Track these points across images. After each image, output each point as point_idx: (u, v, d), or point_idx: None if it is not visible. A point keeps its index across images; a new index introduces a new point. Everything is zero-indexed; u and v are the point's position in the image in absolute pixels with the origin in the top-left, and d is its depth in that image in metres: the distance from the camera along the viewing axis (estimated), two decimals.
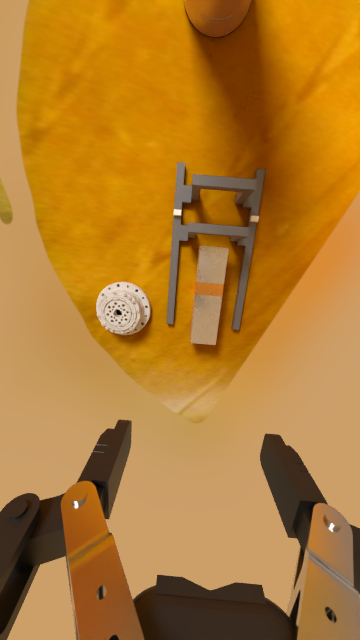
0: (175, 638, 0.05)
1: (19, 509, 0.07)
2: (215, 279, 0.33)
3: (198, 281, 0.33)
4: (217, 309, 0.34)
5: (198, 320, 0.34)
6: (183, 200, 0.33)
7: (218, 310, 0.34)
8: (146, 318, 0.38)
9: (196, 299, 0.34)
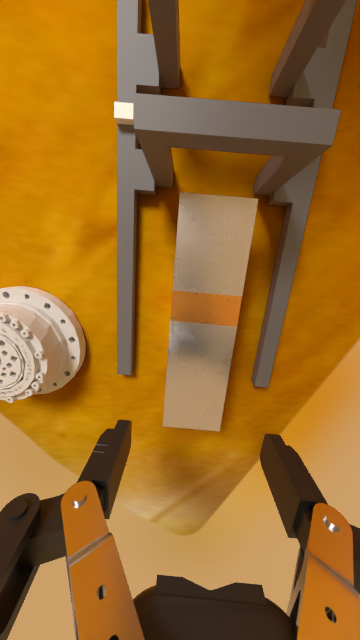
0: (175, 638, 0.05)
1: (19, 509, 0.07)
2: (220, 285, 0.13)
3: (177, 289, 0.13)
4: (224, 357, 0.14)
5: (179, 379, 0.15)
6: (139, 80, 0.13)
7: (227, 358, 0.14)
8: (74, 363, 0.18)
9: (173, 332, 0.14)
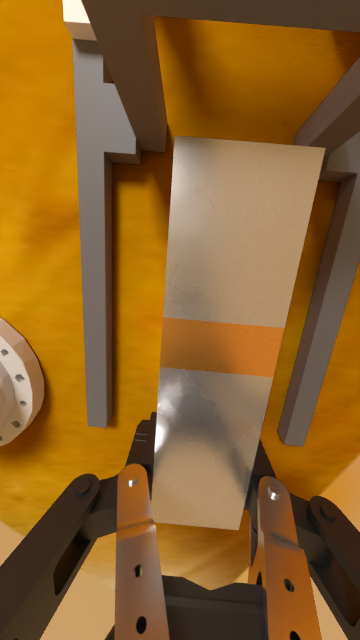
0: (175, 638, 0.05)
1: (83, 487, 0.08)
2: (247, 308, 0.07)
3: (171, 315, 0.07)
4: (250, 425, 0.08)
5: (175, 455, 0.09)
6: None
7: (254, 426, 0.09)
8: (25, 410, 0.13)
9: (165, 386, 0.08)
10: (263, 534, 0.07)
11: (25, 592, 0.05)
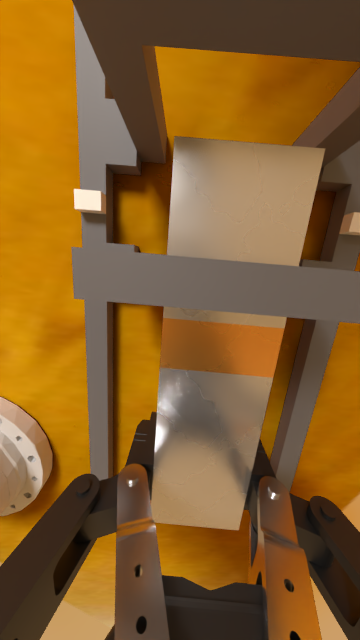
0: (175, 638, 0.05)
1: (83, 487, 0.08)
2: None
3: (171, 315, 0.07)
4: (250, 425, 0.09)
5: (175, 456, 0.09)
6: (109, 158, 0.09)
7: (254, 427, 0.09)
8: (36, 484, 0.14)
9: (165, 386, 0.08)
10: (263, 534, 0.07)
11: (25, 592, 0.05)
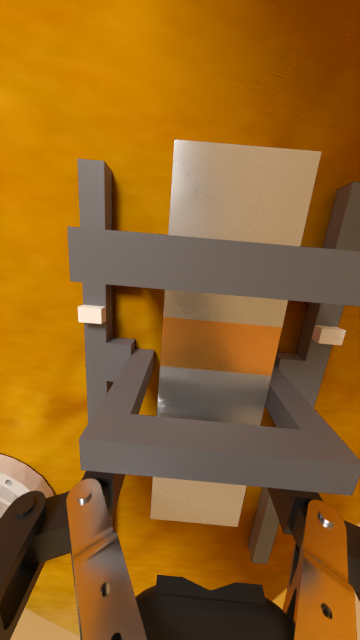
0: (175, 638, 0.05)
1: (25, 506, 0.07)
2: (245, 308, 0.07)
3: (171, 315, 0.08)
4: (248, 422, 0.09)
5: None
6: None
7: (252, 424, 0.09)
8: None
9: (165, 384, 0.08)
10: (304, 552, 0.06)
11: None
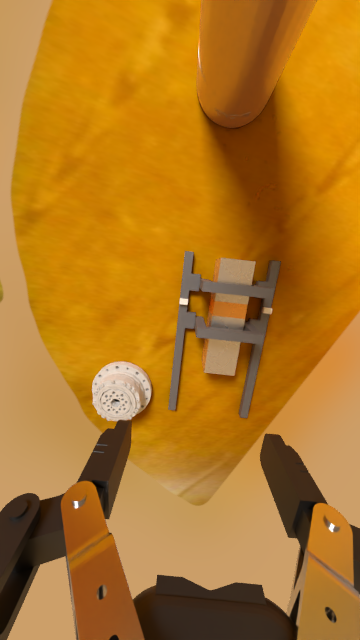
0: (175, 638, 0.05)
1: (19, 509, 0.07)
2: (237, 298, 0.27)
3: (217, 300, 0.27)
4: None
5: (214, 345, 0.29)
6: (190, 289, 0.30)
7: None
8: (147, 401, 0.35)
9: (213, 321, 0.28)
10: (308, 555, 0.06)
11: None
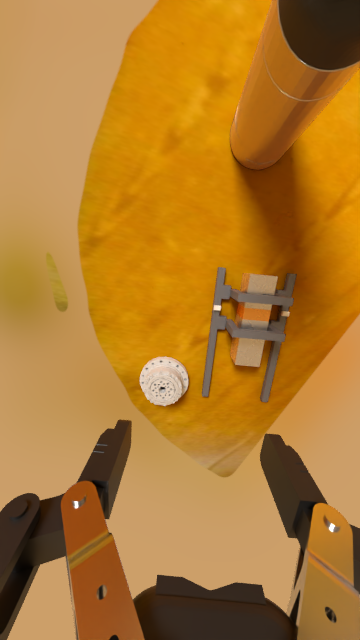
0: (175, 638, 0.05)
1: (19, 509, 0.07)
2: (262, 305, 0.34)
3: (246, 307, 0.34)
4: None
5: (243, 343, 0.36)
6: (222, 297, 0.37)
7: None
8: (184, 389, 0.42)
9: (243, 324, 0.35)
10: (308, 555, 0.06)
11: None
